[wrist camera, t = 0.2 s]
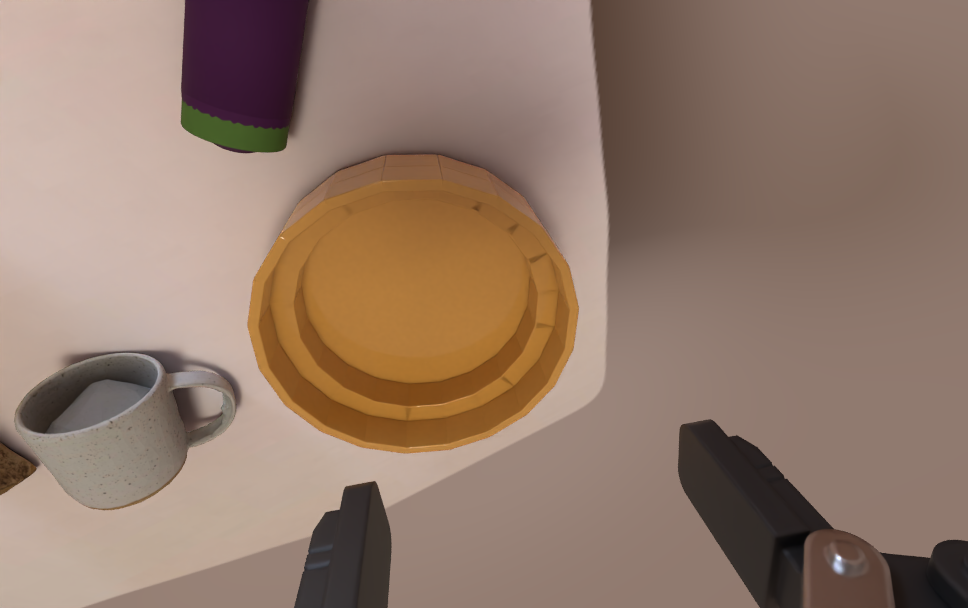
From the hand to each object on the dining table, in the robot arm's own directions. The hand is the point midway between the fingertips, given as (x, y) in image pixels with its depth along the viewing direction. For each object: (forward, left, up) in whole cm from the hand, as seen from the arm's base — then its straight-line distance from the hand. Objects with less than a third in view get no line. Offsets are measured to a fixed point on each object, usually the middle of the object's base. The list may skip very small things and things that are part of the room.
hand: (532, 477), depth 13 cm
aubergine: (-6, -13, -22) cm, 26 cm away
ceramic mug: (+20, -17, -22) cm, 34 cm away
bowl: (+7, -1, -22) cm, 23 cm away
